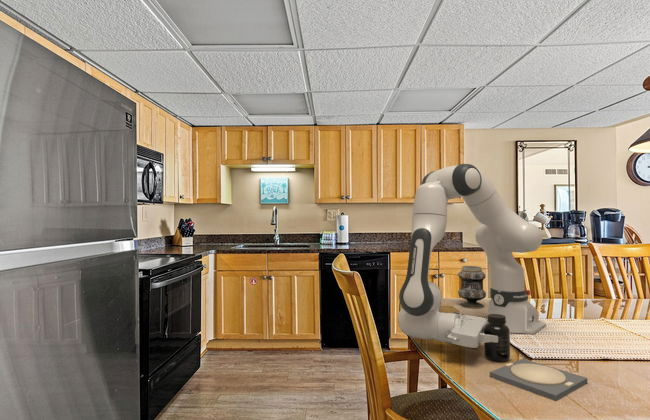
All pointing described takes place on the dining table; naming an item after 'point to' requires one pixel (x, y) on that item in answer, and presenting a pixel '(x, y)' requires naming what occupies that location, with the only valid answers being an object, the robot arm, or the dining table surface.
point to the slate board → (539, 378)
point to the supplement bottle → (502, 347)
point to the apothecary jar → (472, 286)
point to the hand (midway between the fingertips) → (500, 335)
